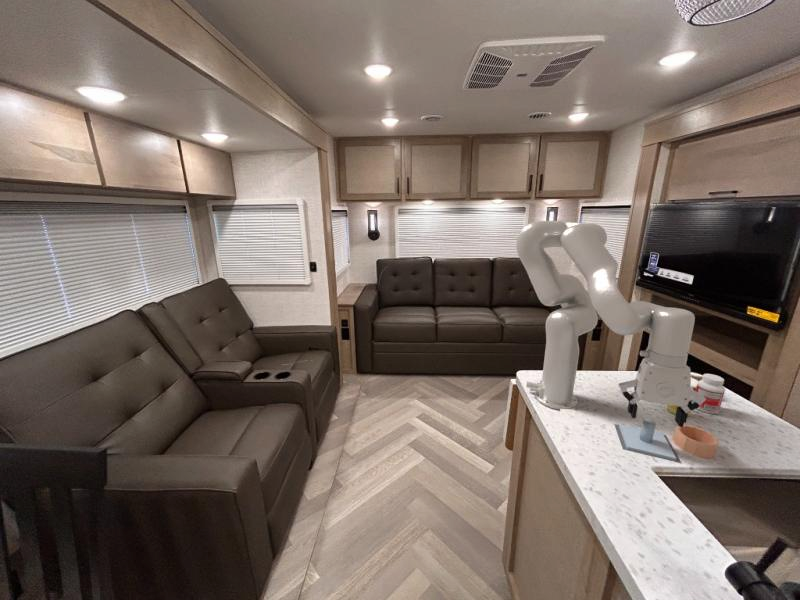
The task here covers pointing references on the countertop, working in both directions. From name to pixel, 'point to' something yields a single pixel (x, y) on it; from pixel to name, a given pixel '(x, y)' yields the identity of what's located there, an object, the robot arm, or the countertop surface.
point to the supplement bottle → (674, 408)
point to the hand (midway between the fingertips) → (654, 419)
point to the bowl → (695, 441)
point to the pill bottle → (711, 393)
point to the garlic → (694, 382)
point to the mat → (641, 452)
